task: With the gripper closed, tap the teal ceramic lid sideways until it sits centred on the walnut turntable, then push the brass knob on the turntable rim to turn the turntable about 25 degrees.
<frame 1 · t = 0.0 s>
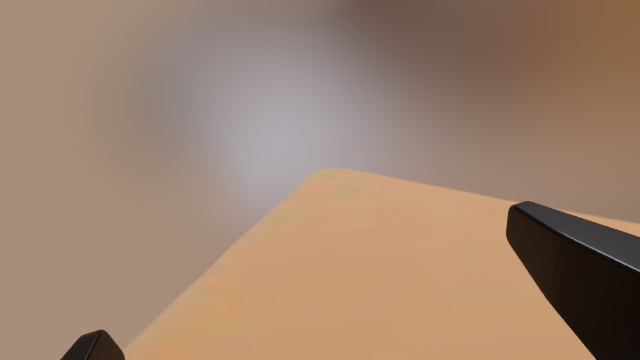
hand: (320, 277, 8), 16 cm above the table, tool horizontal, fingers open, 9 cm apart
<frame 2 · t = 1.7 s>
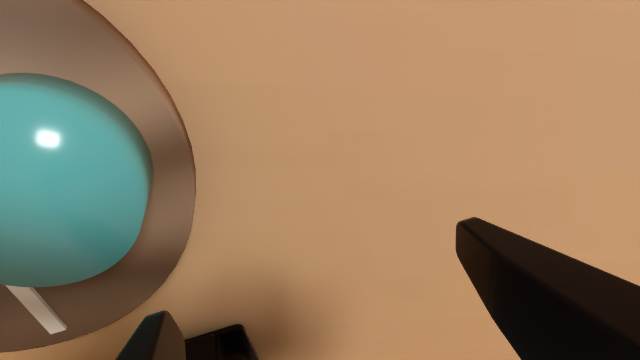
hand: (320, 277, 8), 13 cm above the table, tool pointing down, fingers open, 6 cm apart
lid: (52, 166, 16), point 2 cm above the table, touching turntable
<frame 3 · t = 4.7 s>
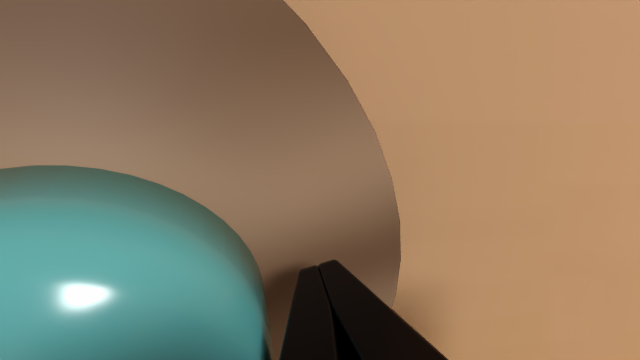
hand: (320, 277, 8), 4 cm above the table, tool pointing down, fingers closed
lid: (89, 319, 9), point 2 cm above the table, touching gripper, turntable
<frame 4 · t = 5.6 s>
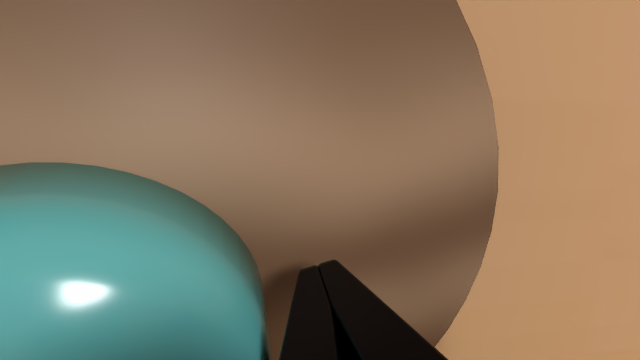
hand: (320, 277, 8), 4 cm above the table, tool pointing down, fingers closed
turntable: (87, 339, 8), point 3 cm above the table, hinge at 0.0°, touching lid
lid: (87, 317, 9), point 2 cm above the table, touching turntable
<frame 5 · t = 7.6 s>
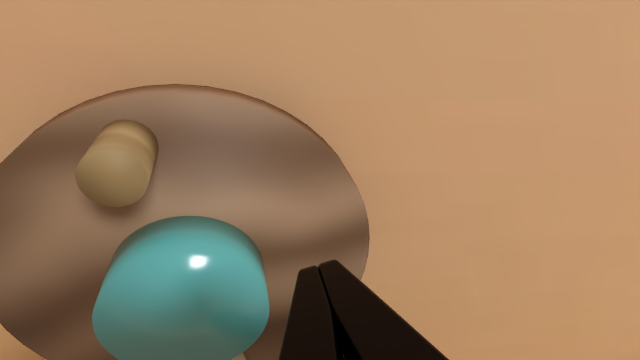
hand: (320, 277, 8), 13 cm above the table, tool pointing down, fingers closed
turntable: (194, 283, 20), point 3 cm above the table, hinge at 0.0°, touching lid
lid: (190, 275, 21), point 2 cm above the table, touching turntable
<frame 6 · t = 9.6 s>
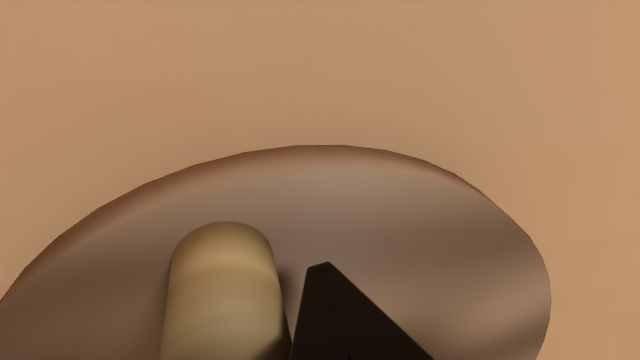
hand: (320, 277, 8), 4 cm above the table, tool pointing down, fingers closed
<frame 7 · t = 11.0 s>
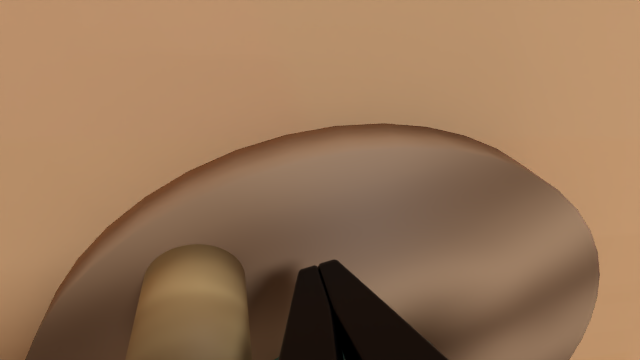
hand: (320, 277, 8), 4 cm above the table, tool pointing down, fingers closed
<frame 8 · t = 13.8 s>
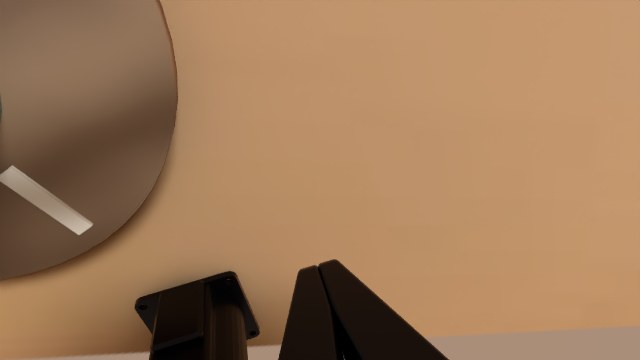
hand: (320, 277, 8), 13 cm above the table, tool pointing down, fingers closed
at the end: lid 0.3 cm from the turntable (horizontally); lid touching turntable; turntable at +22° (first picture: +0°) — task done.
